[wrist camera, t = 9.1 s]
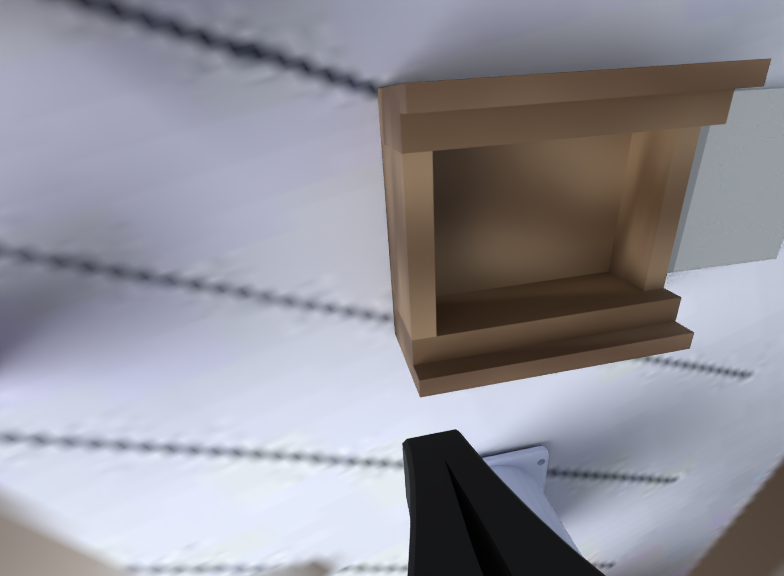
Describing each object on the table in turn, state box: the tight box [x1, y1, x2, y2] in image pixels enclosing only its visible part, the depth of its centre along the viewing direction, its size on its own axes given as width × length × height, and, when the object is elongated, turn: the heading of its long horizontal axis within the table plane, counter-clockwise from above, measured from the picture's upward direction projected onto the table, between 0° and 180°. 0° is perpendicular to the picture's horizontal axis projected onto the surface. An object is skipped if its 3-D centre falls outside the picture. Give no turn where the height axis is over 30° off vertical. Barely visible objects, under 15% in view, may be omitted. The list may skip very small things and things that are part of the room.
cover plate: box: [667, 88, 784, 273], centre depth 20 cm, size 9×9×2 cm
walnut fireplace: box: [378, 59, 771, 397], centre depth 17 cm, size 11×12×5 cm
